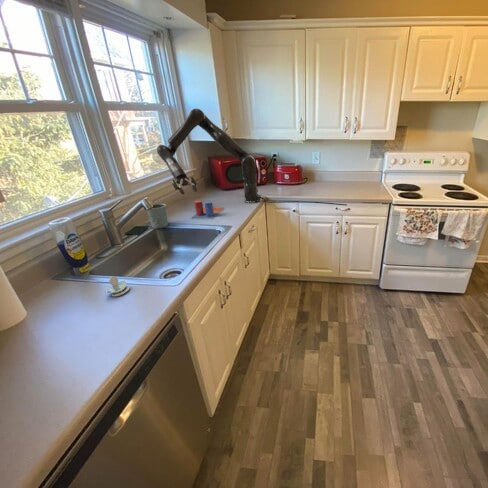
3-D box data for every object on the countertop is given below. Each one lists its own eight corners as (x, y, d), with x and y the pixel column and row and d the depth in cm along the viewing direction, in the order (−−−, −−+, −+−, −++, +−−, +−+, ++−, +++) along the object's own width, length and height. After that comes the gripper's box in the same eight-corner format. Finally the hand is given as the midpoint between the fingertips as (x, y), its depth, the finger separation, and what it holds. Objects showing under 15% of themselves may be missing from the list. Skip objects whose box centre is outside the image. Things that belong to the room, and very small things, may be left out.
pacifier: (134, 288, 105) (121, 285, 106) (130, 274, 102) (117, 271, 104) (117, 299, 98) (103, 296, 100) (112, 284, 96) (98, 281, 97)
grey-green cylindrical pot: (150, 229, 157) (145, 209, 152) (150, 224, 165) (145, 204, 160) (170, 227, 161) (166, 207, 156) (169, 221, 170) (165, 202, 164)
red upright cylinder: (205, 213, 182) (203, 200, 179) (202, 216, 178) (200, 202, 174) (198, 213, 183) (196, 200, 179) (195, 215, 179) (193, 202, 175)
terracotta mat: (224, 208, 195) (224, 207, 195) (219, 212, 187) (219, 211, 187) (206, 207, 196) (206, 207, 196) (200, 211, 188) (200, 211, 187)
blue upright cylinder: (215, 214, 181) (213, 201, 177) (212, 217, 177) (210, 203, 173) (208, 214, 181) (206, 201, 178) (205, 216, 177) (203, 203, 173)
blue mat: (217, 213, 184) (217, 213, 184) (212, 219, 175) (211, 218, 174) (198, 213, 184) (198, 212, 184) (191, 218, 175) (191, 217, 175)
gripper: (168, 170, 174) (180, 191, 172) (189, 167, 184) (201, 187, 182) (165, 177, 179) (178, 198, 177) (186, 174, 189) (198, 193, 187)
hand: (190, 192), depth 180 cm, fingers open, 8 cm apart
